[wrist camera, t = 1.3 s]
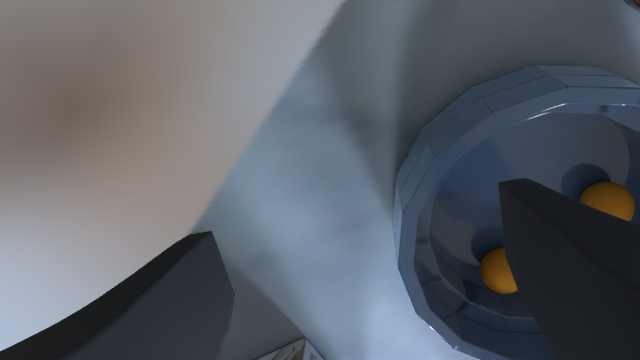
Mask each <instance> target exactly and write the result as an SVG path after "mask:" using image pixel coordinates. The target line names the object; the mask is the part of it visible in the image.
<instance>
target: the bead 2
mask: <svg viewBox="0 0 640 360" xmlns="http://www.w3.org/2000/svg"><path fill="white" fill-rule="evenodd" d="M579 202H581V203H583V204H586V205H588V206H590V207H593V208H595V209H598V210H600V211H603V212H605V213H608V214H611V215H613V216H616V217H619V218H621V219H624V220H627V221H630V220H631V219H632V217H633V214H634V211H635V203H634V199H633V197H632V195H631V194H630V193H629V191H628V190H627V189H625V188H624V187H623V186H621V185H619V184H616V183H612V182H600V183H596V184H593V185H591V186H590V187H588V188H587V189H586V190H585V191H584V192H583V193H582V195H581V197H580V199H579Z"/></svg>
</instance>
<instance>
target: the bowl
mask: <svg viewBox="0 0 640 360" xmlns="http://www.w3.org/2000/svg"><path fill="white" fill-rule="evenodd" d="M520 178H528V179H530V180H533V181H535V182H537V183H540V184H542V185H544V186H546V187H548V188H550V189H553V190H555V191H557V192H559V193H561V194H563V195H565V196H568V197H570V198H572V199H574V200H577V201H579V199H580V197H581V195H582V193H583V192H584V191H585V190H586V189H587V188H588V187H590V186H591V185H593V184H596V183H600V182H612V183H616V184H619V185H621V186H623V187H624V188H625V189H627V190H628V191H629V193H630V194H631V195H632V197H633V199H634V203H635V211H634V214H633V217H632V219H631V220H630V222H633V223H636V224H639V225H640V85H637V84H635V83H633V82H631V81H629V80H627V79H624V78H622V77H620V76H618V75H616V74H613V73H611V72H609V71H607V70H605V69H602V68H600V67H593V66H552V65H534V66H529V67H526V68H523V69H520V70H518V71H515V72H512V73H509V74H506V75H504V76H501V77H498V78H495V79H492V80H489V81H487V82H484V83H481V84H478V85H475V86H473V87H472V88H469V89H468V90H467V91H466V92H465V93H463V94H462V95H461V96H460V97H459V98H457V99H456V100H455V101H454V102H453V103H451V104H450V105H449V106H448V107H447V108H445V109H444V110H443V111H442V112H441V113H439V114H438V115H437V116H436V117H435V118H433V119H432V120H431V121H430V122H429V123H427V124H426V125H425V126H424V127H423V128H422V130H421V131H420V133H419V135H418V137H417V139H416V141H415V142H414V144H413V146H412V148H411V150H410V152H409V153H408V155H407V157H406V159H405V161H404V162H403V164H402V166H401V168H400V170H399V172H398V173H397V177H396V187H395V199H394V211H393V231H394V240H395V248H396V257H397V265H398V269H399V272H400V274H401V277H402V279H403V282H404V284H405V287H406V289H407V292H408V295H409V297H410V300H411V302H412V305H413V307H414V310H415V312H416V313H417V315H418V316H419V317H420V318H421V319H422V320H423V321H424V322H425V323H426V324H427V325H428V326H430V327H431V328H432V329H433V330H434V331H435V332H436V333H437V334H438V335H439V336H440V337H441V338H442V339H443V340H445V341H446V342H447V343H448V344H449V345H450V346H451V347H452V348H453V349H455V350H457V351H460V352H462V353H465V354H467V355H470V356H472V357H475V358H477V359H480V360H556V359H555V357H554V355H553V353H552V352H551V350H550V348H549V346H548V344H547V343H546V341H545V339H544V337H543V335H542V333H541V332H540V330H539V328H538V326H537V324H536V322H535V321H534V319H533V317H532V315H531V313H530V311H529V310H528V308H527V306H526V304H525V302H524V300H523V298H522V297H521V295H520V293H519V291H516V292H513V293H510V294H501V293H497V292H495V291H493V290H491V289H490V288H488V287H487V286H486V284H485V283H484V282H483V280H482V278H481V275H480V264H481V261H482V259H483V258H484V256H485V255H486V254H487V253H488V252H490V251H492V250H494V249H497V248H504V239H503V229H502V218H501V208H500V197H499V187H498V182H503V181H508V180H514V179H520Z"/></svg>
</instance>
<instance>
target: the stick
mask: <svg viewBox="0 0 640 360" xmlns="http://www.w3.org/2000/svg"><path fill="white" fill-rule="evenodd" d="M624 1H625V2H626V3H627V4H628V5H629V6H631V7H632V8H634V9H635V10H638V11H640V0H624Z"/></svg>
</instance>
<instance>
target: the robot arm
mask: <svg viewBox="0 0 640 360" xmlns="http://www.w3.org/2000/svg"><path fill="white" fill-rule="evenodd" d="M498 187H499V197H500V208H501V218H502V229H503V239H504V250H505V257H506V259H507V262H508V265H509V268H510V270H511V273H512V276H513V278H514V281H515V284H516V286H517V289H518V291H519V293H520V295H521V297H522V298H523V300H524V302H525V304H526V306H527V308H528V310H529V311H530V313H531V315H532V317H533V319H534V321H535V322H536V324H537V326H538V328H539V330H540V332H541V333H542V335H543V337H544V339H545V341H546V343H547V344H548V346H549V348H550V350H551V352H552V353H553V355H554V357H555V359H556V360H640V225H639V224H636V223H633V222H630V221H627V220H624V219H621V218H619V217H616V216H613V215H611V214H608V213H605V212H603V211H600V210H598V209H595V208H593V207H590V206H588V205H586V204H583V203H581V202H579V201H577V200H574V199H572V198H570V197H568V196H565V195H563V194H561V193H559V192H557V191H555V190H553V189H550V188H548V187H546V186H544V185H542V184H540V183H537V182H535V181H533V180H530V179H528V178H520V179H514V180H508V181H503V182H498ZM234 297H235V294H234V291H233V288H232V286H231V283H230V280H229V277H228V275H227V272H226V269H225V266H224V264H223V261H222V258H221V255H220V253H219V250H218V247H217V244H216V242H215V239H214V236H213V233H212V231H208V232H202V233H196V234H190V235H188V236H186V237H184V238H183V239H181V240H179V241H178V242H176V243H175V244H173V245H172V246H171V247H169V248H168V249H166V250H165V251H163V252H162V253H161V254H159V255H158V256H157V257H155V258H154V259H153V260H152V261H150V262H148V263H147V264H146V265H145V266H143V267H142V268H141V269H139V270H138V271H136V272H135V273H134V274H132V275H131V276H129V277H128V278H127V279H125V280H124V281H122V282H121V283H119V284H118V285H117V286H115V287H114V288H112V289H111V290H109V291H108V292H106V293H105V294H103V295H102V296H101V297H99V298H98V299H96V300H94V301H93V302H91V303H90V304H88V305H87V306H85V307H84V308H82V309H80V310H78V311H77V312H75V313H73V314H72V315H70V316H68V317H67V318H65V319H63V320H61V321H60V322H58V323H56V324H54V325H52V326H51V327H49V328H47V329H45V330H43V331H41V332H39V333H37V334H35V335H33V336H31V337H29V338H27V339H25V340H23V341H21V342H19V343H17V344H15V345H13V346H11V347H9V348H7V349H5V350H2V351H0V360H218V359H219V356H220V353H221V350H222V347H223V344H224V341H225V338H226V335H227V332H228V329H229V325H230V320H231V315H232V309H233V303H234Z"/></svg>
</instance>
